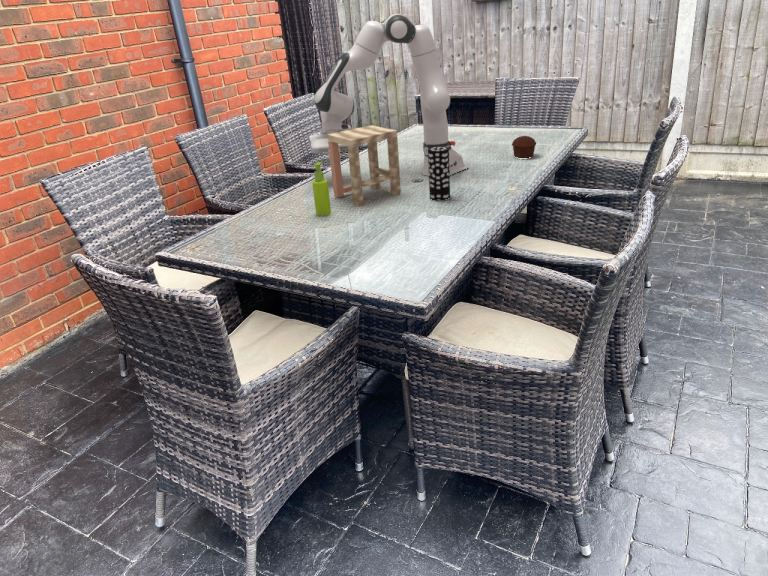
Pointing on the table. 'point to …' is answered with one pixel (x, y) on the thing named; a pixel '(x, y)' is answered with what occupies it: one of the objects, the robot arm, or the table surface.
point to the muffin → (524, 147)
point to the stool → (370, 158)
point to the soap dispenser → (321, 192)
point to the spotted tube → (439, 173)
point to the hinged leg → (337, 171)
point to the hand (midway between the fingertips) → (335, 158)
